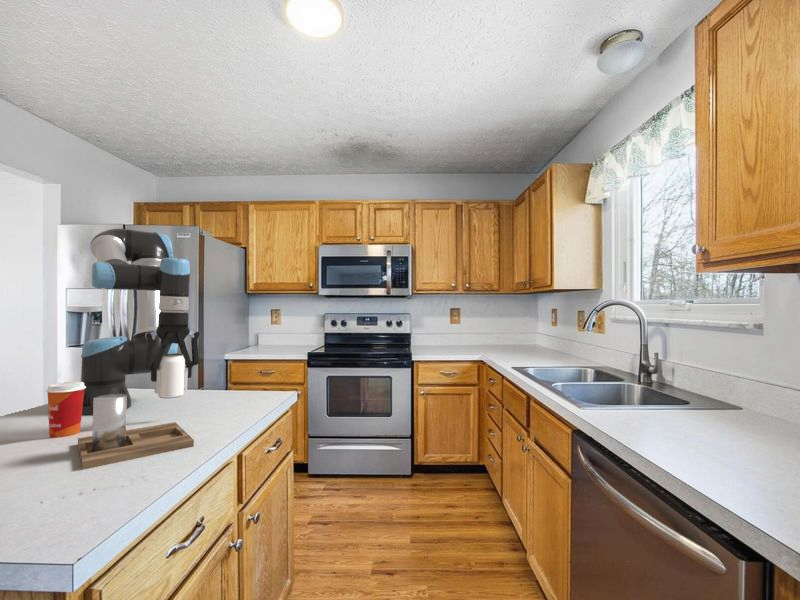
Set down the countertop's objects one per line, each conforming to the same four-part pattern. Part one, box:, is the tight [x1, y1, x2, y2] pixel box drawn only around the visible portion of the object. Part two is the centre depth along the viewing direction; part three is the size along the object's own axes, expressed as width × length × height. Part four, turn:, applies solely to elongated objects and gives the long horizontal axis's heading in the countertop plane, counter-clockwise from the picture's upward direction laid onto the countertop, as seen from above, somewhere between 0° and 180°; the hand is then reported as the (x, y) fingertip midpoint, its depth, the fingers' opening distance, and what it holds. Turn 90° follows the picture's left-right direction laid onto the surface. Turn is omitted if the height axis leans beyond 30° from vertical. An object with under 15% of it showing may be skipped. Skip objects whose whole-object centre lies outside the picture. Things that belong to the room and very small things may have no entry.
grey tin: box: [91, 394, 128, 452], centre depth 86 cm, size 6×6×12 cm
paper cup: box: [45, 381, 86, 439], centre depth 97 cm, size 8×8×14 cm
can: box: [157, 352, 186, 400], centre depth 111 cm, size 6×6×12 cm
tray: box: [77, 421, 195, 470], centre depth 89 cm, size 18×20×3 cm
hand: (171, 390), depth 111 cm, fingers closed on can, 6 cm apart
